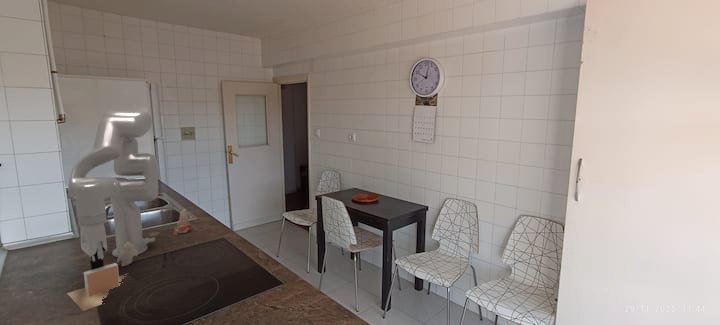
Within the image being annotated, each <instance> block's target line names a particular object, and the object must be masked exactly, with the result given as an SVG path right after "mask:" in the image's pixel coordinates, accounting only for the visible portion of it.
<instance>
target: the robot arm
mask: <svg viewBox="0 0 720 325" xmlns="http://www.w3.org/2000/svg"><path fill="white" fill-rule="evenodd" d="M152 126H153V119H152V116H151V114H150V113H149V112H148V111H143V110H137V111H135V110H110V111H107V112H105V113H103V115H102V118H101V119H100V120H99V121H98V126H97V129H96V134H95V135H96V136H95V138H94V143H93V148H92V150H91V151H90V152H87V154H85V155H84V156H83V157H82V158H80V159H79V160H78V161H77V162H76V164H75V165H74V166H73V167H72V170H71V172H70V177H69V180H68V187H67V188H68V189H67V190H68V195H69V196H70V197H71V198H72V199H73V200H75V205H76V206H75V207H76V213H77V214H76V215H77V222H78V227H80V230H79V232H80V247H81V248H80V249H81V250H82V251H83V252H84V253H85V254H86V255H88V256H89V264H90V270H93V269H97V268H100V267H103V266H105V265H104V258H105V257H104V253H106V252H107V251H108V242H107V241H108V240H107V239H108V238H107V233H106V227H105V223H107V222H108V220H107V212H106V211H107V209H106V200H109V199H110V202H111V207H112V214H113V223H114V225H113V226H114V235H115V246H116V248H114V249H113V250H112V256H114V257H115V258H118V256H119V254H120V251H121V249H122V248H123V247H124V245H125V244H126V243H127V242H130V243H131V244H132V245H133V246H134V248H135V249H136V251H137V253H138V255H141V254H143V253H145V252H146V251H147V250H148V244H152V243H154V242H155V241H156V238H155V237H151V238H150V237H146V238H143V228H142V226H143V224H142V216H141V212H142V211H141V209H140V207H139V205H137V204H136V203H137V202H150V201H154V200H156V199H157V197H158V194H159V163H158V159H157V157H156V156H155V155H154V154H152V153H139V142H138V140H137V139H138V138H142V137H144V136H145V135H146V134H147V133H148V132H149V131H150V130H151V128H152ZM136 138H137V139H136ZM111 161H112V162H113V170H114V173H115V174H116V175H117V176H120V177H139V176H140V177H143V176H144V178H125V179H124V178H123V179H117V178H115V177H110V176H101V177H100V176H96V177H95V176H92V177H86V176H87V175H88V174H89V172H90V171H92V170H94V169H95V168H97V167H100V166H101V165H102V166H103V165H104V164H108V163H110V162H111ZM135 202H136V203H135Z"/></svg>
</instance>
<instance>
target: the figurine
mask: <svg viewBox="0 0 720 325" xmlns="http://www.w3.org/2000/svg"><path fill="white" fill-rule="evenodd" d="M191 228H192V225H191V224H190V220H189V216H188V212H187V210H186V209H182V210H181V212H179V220H178V221H177V223H176V226H175V227H174V230H173V236H178V234H186V233H188V231H189V229H191Z"/></svg>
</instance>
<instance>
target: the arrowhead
mask: <svg viewBox="0 0 720 325" xmlns="http://www.w3.org/2000/svg"><path fill="white" fill-rule="evenodd" d="M138 255H139V254H138V253H137V251H136V249H135V248H134V246H133V245H132V244H131V243H130V242H127V243H126V244H125V245H124V247H123V248H122V249H121V251H120V254H119V256H118V257H116V258H117V259H116V263H119V262H120V261H121V267H125V266H128V265H131V264H132V263H133V258H134V257H138Z"/></svg>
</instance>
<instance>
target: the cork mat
mask: <svg viewBox="0 0 720 325" xmlns="http://www.w3.org/2000/svg"><path fill="white" fill-rule="evenodd" d="M127 274H128V273H125V274H121V275H119V282H121V281H122V279H124V277H126V276H124V275H127ZM122 283H123V282H122ZM119 284H121V283H119ZM108 292H109V290H107V291H104V292H101V293H99V294H96V295H93V296H90V297H88V296H87V295H86V289H85V287H83V288H79V289H76V290H73V291H70V292H67V293H66V295H68V296H69V297H70V298H71V299H72V301H73V302H75V304H76V305H77V307H79V308H80V309H81V310H82V311H83V312H84V311H87V310H90V309H93V308H96V307H99V306H101V305H103V304H102V302H103V301H102V299H104V298H106V297H107V295H108V294H109V293H108ZM103 297H104V298H103Z"/></svg>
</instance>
